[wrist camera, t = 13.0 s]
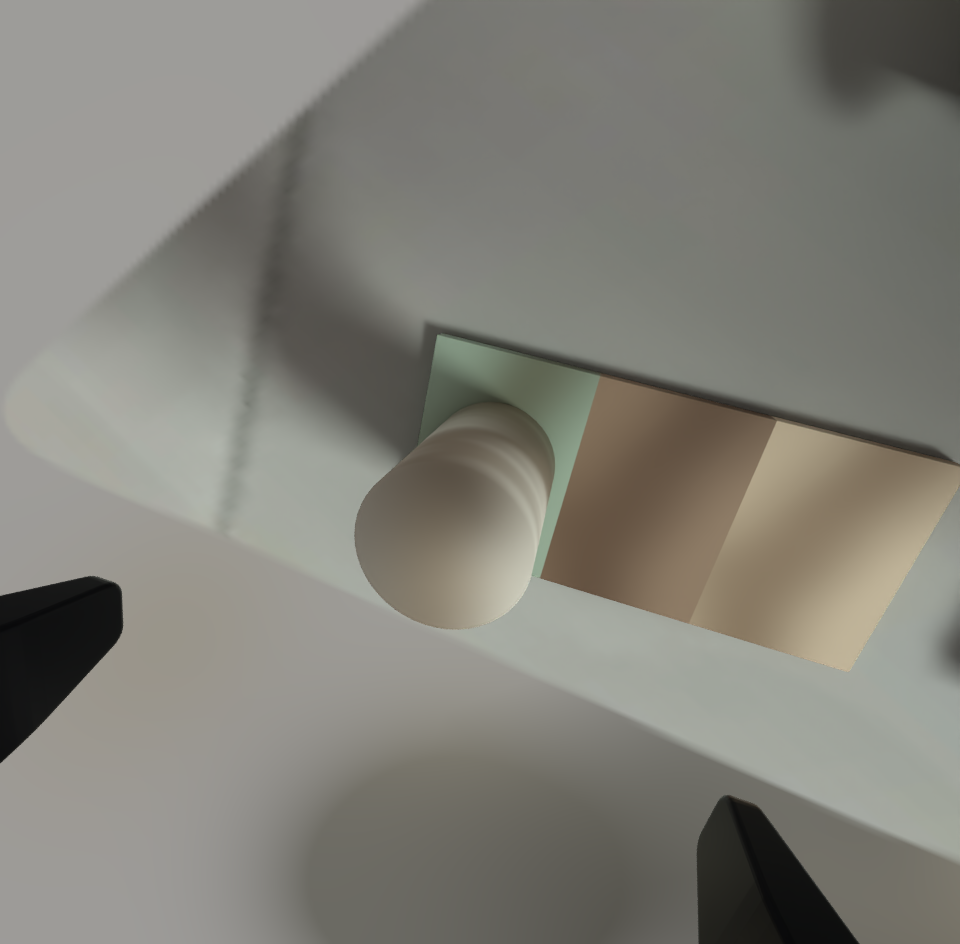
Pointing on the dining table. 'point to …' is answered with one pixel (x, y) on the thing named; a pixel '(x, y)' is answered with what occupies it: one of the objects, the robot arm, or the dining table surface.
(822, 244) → the dining table surface
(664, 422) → the game track
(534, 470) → the beige cylinder
